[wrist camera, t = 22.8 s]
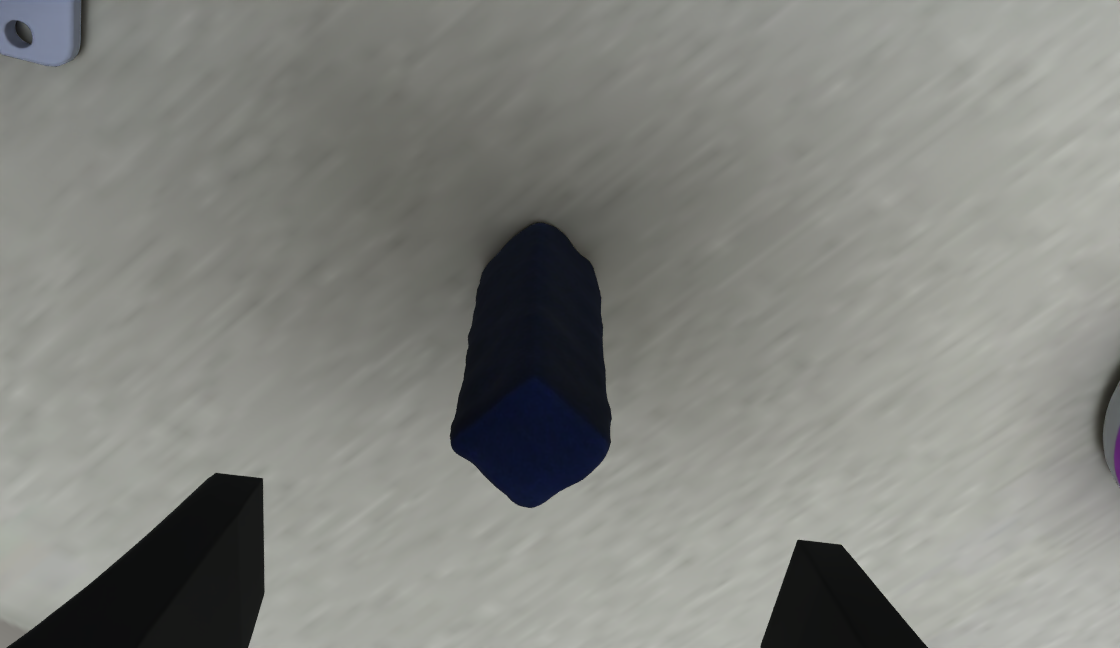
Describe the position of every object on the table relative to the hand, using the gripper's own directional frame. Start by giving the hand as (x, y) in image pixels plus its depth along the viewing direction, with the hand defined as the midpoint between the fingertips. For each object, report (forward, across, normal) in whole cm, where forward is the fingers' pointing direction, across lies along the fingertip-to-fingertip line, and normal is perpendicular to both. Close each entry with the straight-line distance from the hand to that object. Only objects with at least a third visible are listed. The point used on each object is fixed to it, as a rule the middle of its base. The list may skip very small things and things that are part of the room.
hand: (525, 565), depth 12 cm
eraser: (+10, 0, 0) cm, 10 cm away
